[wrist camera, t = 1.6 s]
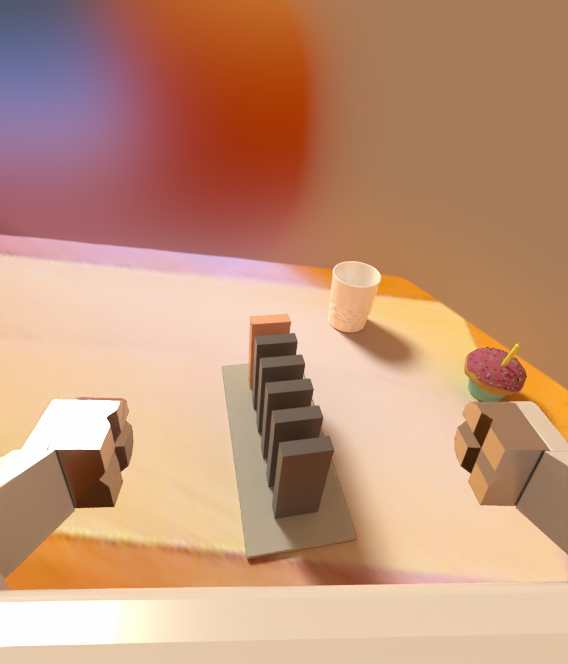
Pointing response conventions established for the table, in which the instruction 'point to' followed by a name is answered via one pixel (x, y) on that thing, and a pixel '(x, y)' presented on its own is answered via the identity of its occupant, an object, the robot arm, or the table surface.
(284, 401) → the domino
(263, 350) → the domino
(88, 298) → the table surface
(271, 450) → the domino
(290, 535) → the felt strip
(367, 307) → the white cup
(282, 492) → the domino
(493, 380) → the cupcake
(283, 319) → the domino
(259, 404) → the domino
